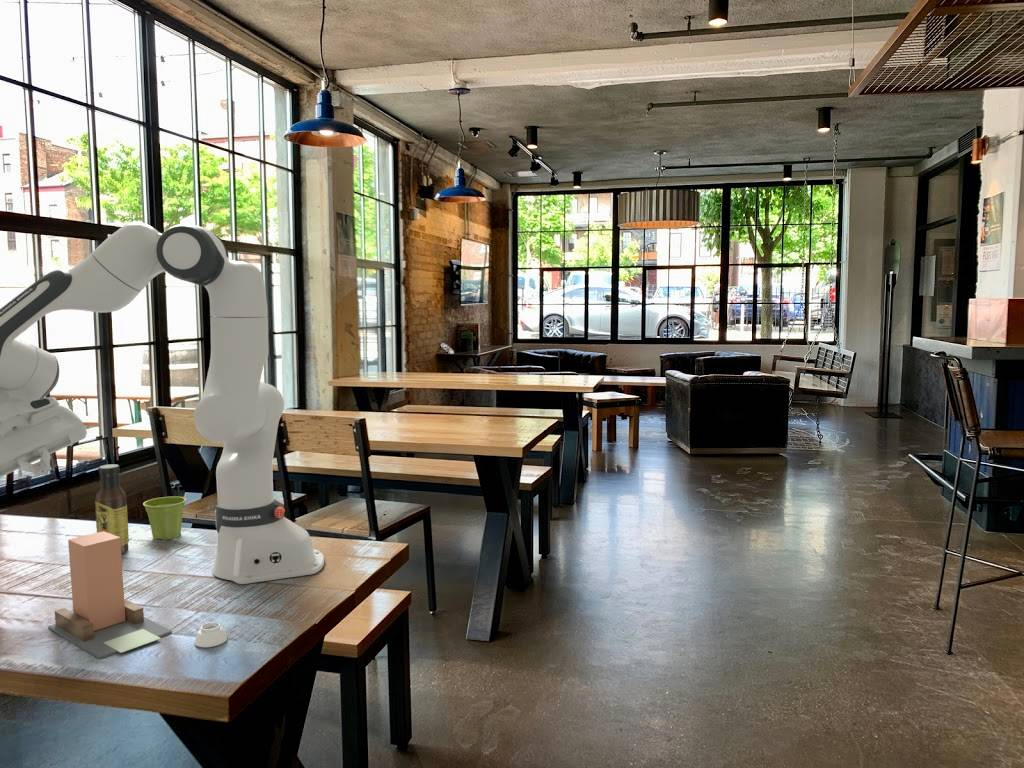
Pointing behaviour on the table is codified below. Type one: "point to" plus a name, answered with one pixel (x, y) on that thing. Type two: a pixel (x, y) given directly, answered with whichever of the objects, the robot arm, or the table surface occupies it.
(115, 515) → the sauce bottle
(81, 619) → the chute rails
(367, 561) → the table surface
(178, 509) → the plant pot
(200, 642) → the white jar
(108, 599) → the block
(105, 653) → the chute mat
